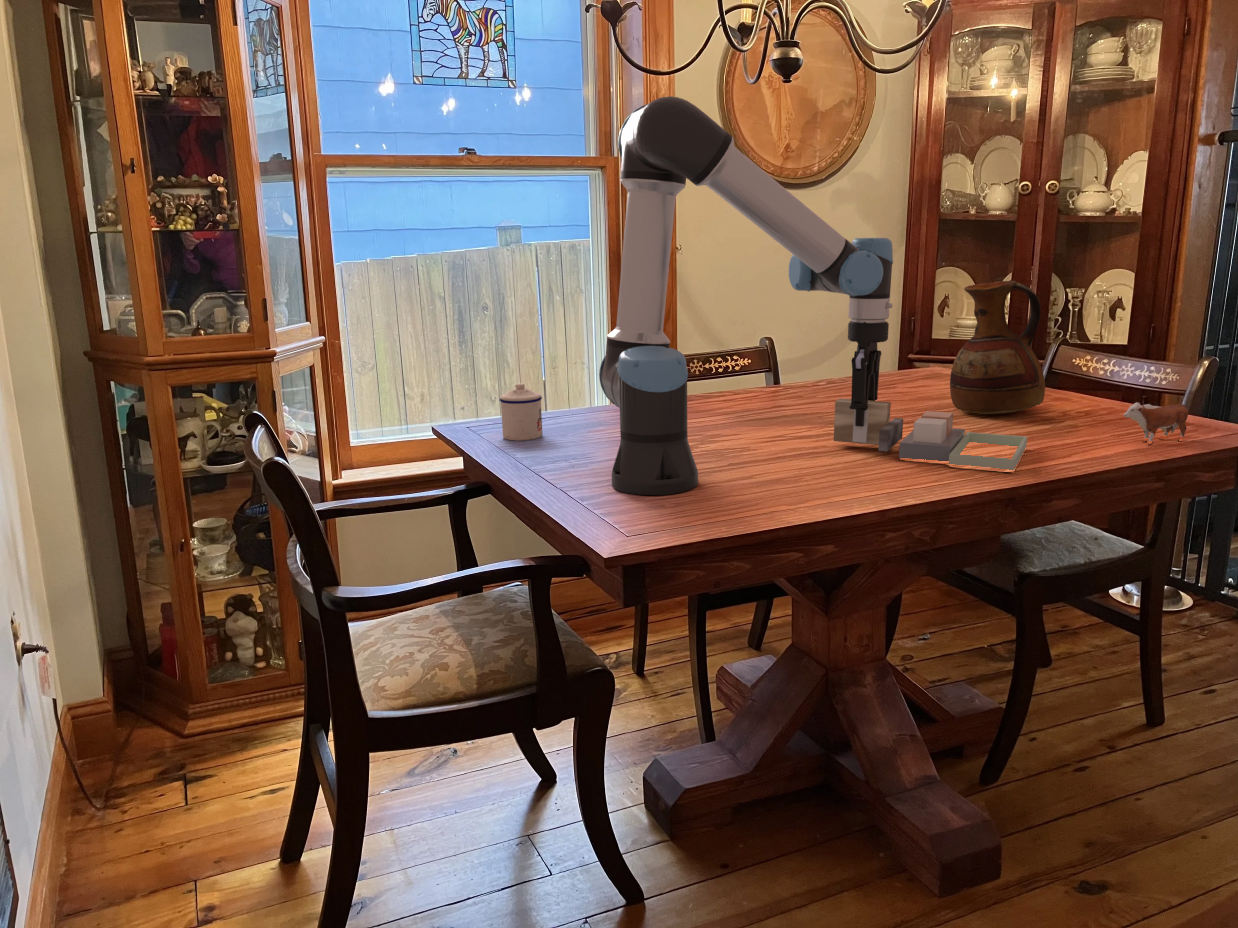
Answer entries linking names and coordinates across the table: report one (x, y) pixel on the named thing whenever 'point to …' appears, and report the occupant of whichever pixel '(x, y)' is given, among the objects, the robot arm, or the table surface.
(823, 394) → the table surface
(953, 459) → the tray
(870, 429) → the beige slab
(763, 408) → the table surface
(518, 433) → the teacup with lid
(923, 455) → the slate board
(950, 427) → the reddish brown block
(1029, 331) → the ceramic pitcher
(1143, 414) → the bull figurine
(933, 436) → the light grey block
